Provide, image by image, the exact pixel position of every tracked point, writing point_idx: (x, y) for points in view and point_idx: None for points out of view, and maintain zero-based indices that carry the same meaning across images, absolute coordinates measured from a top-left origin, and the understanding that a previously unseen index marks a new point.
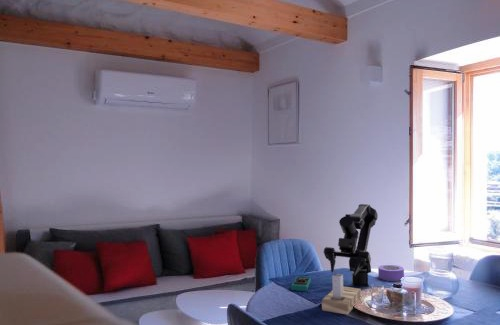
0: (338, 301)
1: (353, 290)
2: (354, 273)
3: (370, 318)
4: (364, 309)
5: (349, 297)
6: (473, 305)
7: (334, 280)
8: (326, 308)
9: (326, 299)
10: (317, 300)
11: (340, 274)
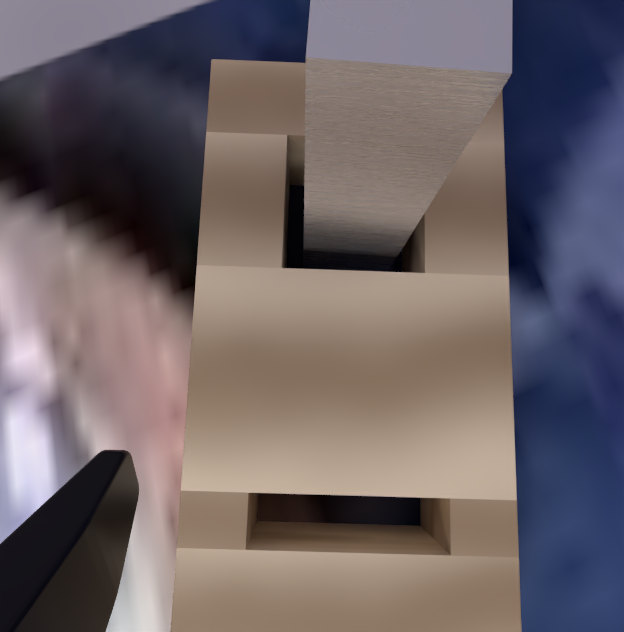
0: None
1: (250, 580)
2: (100, 455)
3: (25, 112)
4: (106, 308)
5: (236, 267)
6: None
7: None
8: None
9: None
10: (608, 374)
11: (365, 37)
